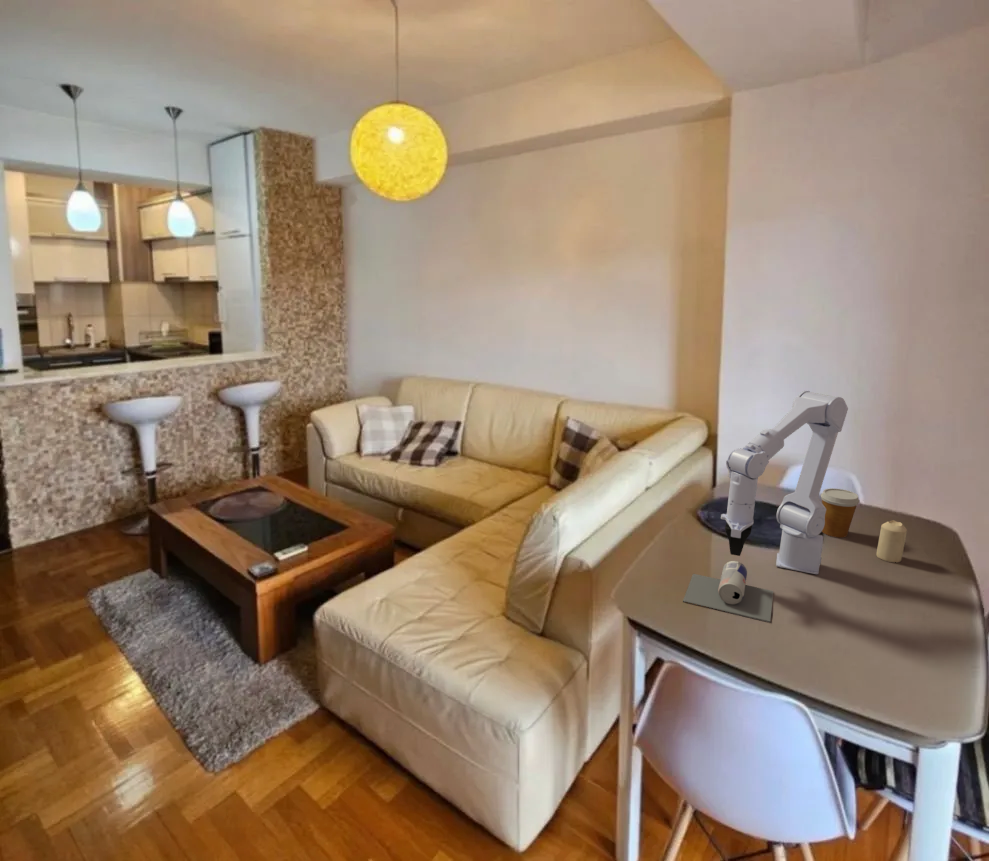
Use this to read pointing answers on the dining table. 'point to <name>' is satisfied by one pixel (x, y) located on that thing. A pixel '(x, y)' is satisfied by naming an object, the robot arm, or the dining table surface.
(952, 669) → the dining table surface
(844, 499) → the disposable coffee cup
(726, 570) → the energy drink
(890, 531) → the candle
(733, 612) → the rubber mat
